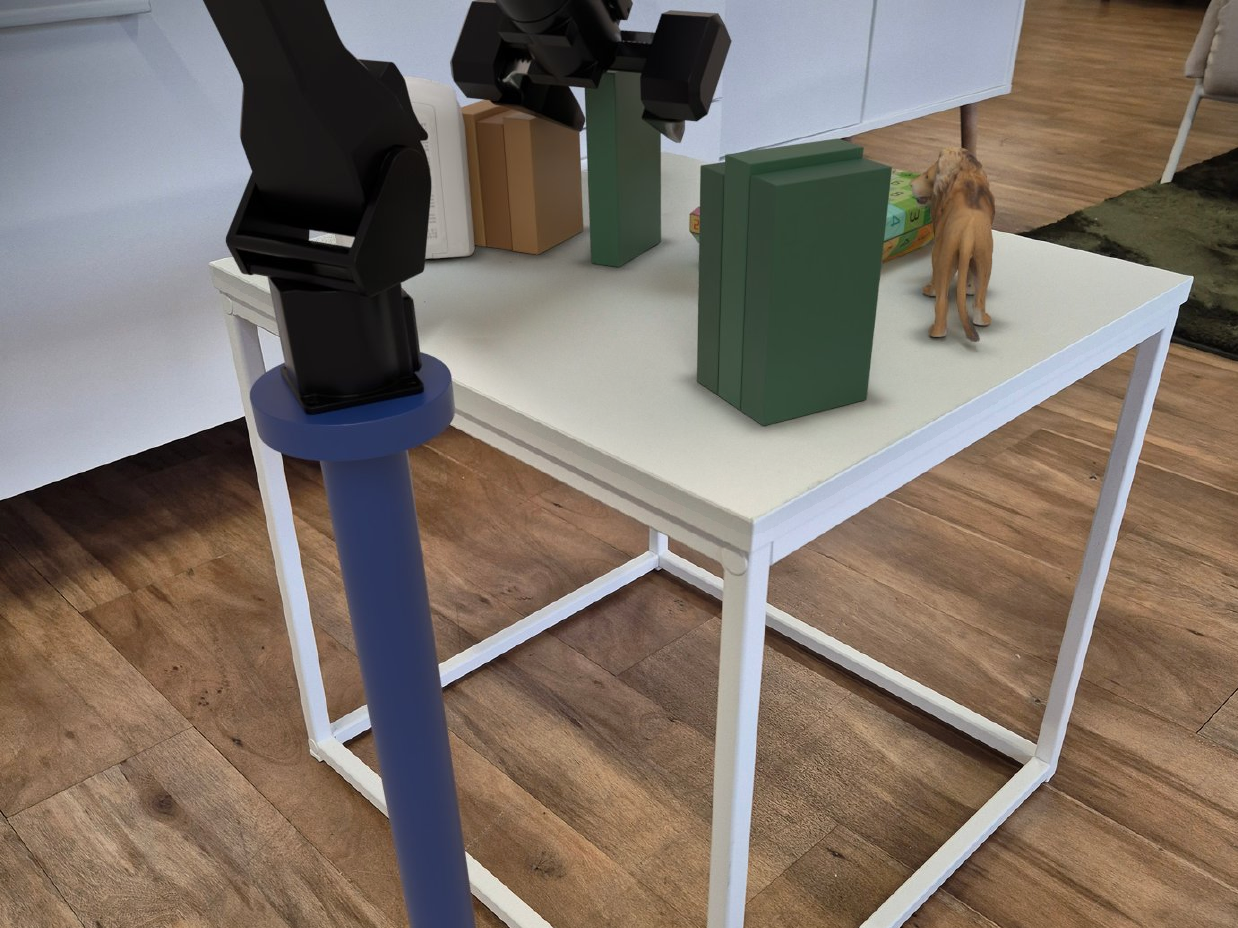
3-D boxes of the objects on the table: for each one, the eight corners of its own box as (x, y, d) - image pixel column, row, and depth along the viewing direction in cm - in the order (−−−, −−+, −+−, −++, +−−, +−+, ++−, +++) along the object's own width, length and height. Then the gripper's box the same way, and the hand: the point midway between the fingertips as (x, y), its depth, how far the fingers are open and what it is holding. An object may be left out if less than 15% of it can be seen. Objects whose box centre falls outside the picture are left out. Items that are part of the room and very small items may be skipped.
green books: (763, 426, 62) (776, 174, 55) (696, 381, 67) (700, 144, 60) (867, 399, 65) (893, 156, 57) (795, 358, 70) (811, 129, 63)
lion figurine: (894, 274, 83) (910, 140, 77) (969, 273, 83) (990, 140, 77) (934, 351, 71) (956, 199, 66) (1021, 350, 71) (1049, 199, 65)
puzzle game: (689, 200, 82) (852, 149, 94) (689, 266, 85) (847, 209, 97) (823, 232, 76) (980, 173, 87) (817, 302, 78) (971, 236, 90)
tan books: (538, 255, 87) (529, 120, 82) (460, 243, 90) (447, 111, 84) (583, 230, 92) (578, 101, 87) (509, 220, 95) (499, 94, 89)
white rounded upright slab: (473, 242, 90) (456, 67, 83) (479, 259, 86) (462, 78, 79) (338, 253, 88) (309, 75, 81) (339, 270, 85) (309, 86, 77)
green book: (619, 267, 85) (614, 72, 77) (590, 263, 85) (583, 70, 78) (661, 241, 90) (661, 56, 82) (634, 238, 91) (631, 54, 83)
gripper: (722, -142, 66) (783, 37, 80) (452, -145, 73) (553, 21, 87) (662, 36, 65) (735, 185, 80) (396, 17, 72) (507, 156, 87)
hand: (630, 131), depth 83 cm, fingers open, 8 cm apart
